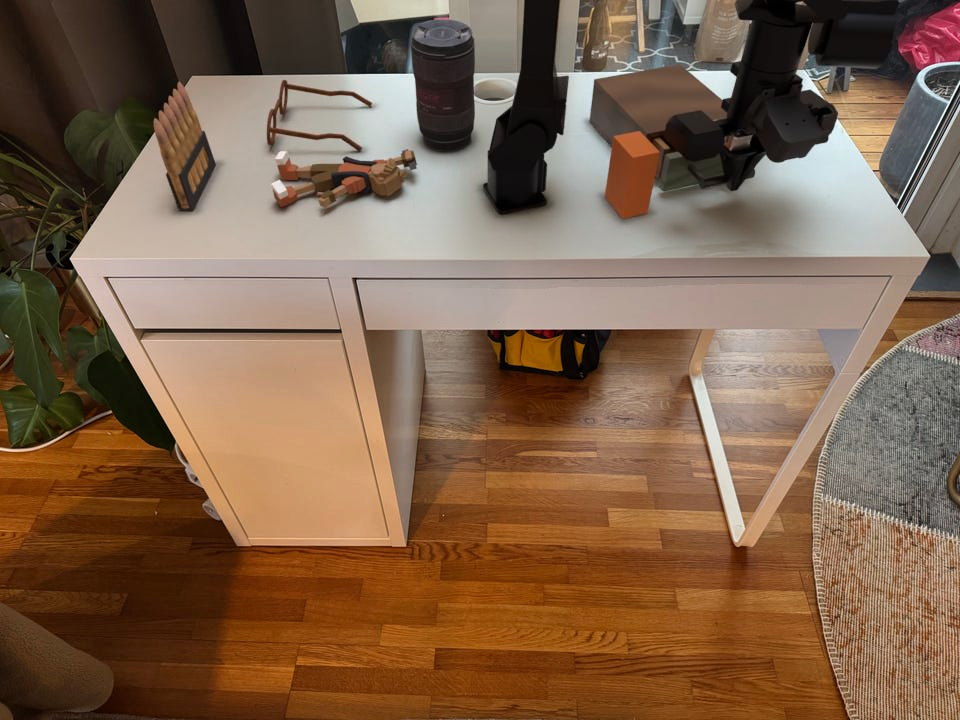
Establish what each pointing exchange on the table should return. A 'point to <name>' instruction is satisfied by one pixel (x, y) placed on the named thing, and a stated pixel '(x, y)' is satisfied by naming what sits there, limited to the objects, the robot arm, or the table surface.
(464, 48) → the camera lens
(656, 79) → the cabinet
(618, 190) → the orange rectangular block
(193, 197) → the ammunition clip
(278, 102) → the glasses
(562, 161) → the table surface
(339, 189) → the character figurine
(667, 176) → the drawer
